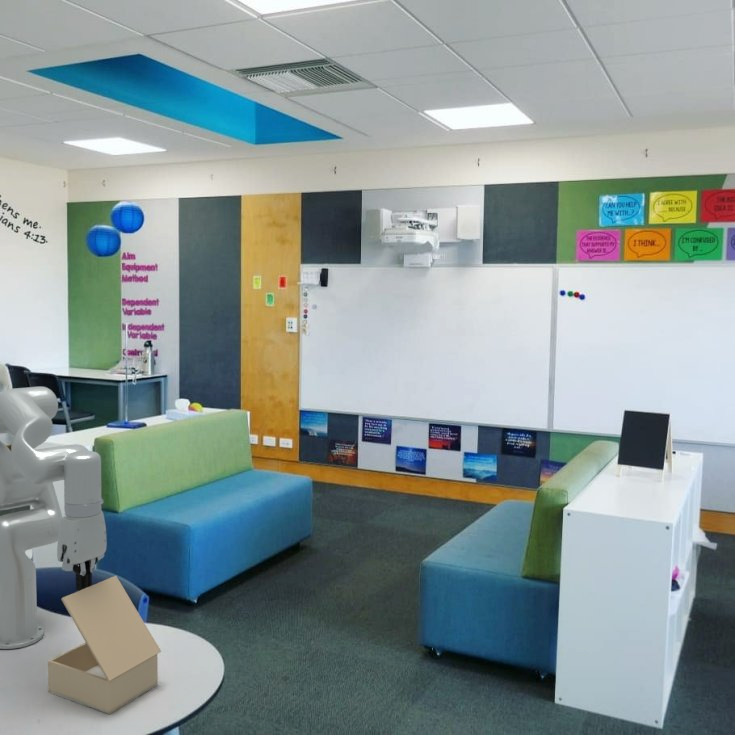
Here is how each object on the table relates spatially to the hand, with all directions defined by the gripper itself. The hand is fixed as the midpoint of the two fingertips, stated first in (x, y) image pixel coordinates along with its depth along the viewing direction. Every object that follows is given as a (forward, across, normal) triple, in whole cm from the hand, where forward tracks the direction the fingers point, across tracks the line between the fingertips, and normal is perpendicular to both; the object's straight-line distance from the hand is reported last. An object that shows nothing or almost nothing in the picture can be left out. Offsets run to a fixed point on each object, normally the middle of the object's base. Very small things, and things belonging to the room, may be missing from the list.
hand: (83, 590), depth 171 cm
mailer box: (+21, 0, +6) cm, 22 cm away
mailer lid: (+6, 0, +8) cm, 10 cm away
